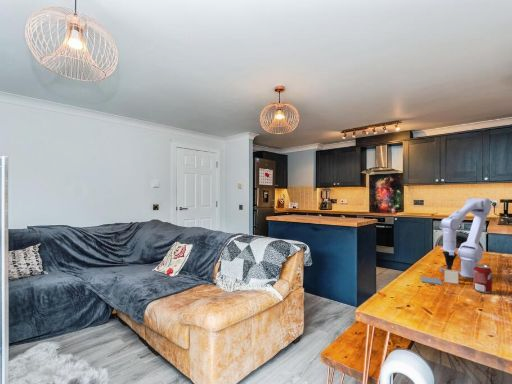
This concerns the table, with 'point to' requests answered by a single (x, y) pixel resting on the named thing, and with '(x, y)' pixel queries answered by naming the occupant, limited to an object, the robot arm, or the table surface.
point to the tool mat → (431, 280)
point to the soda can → (482, 279)
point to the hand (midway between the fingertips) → (449, 265)
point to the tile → (451, 276)
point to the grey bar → (447, 269)
